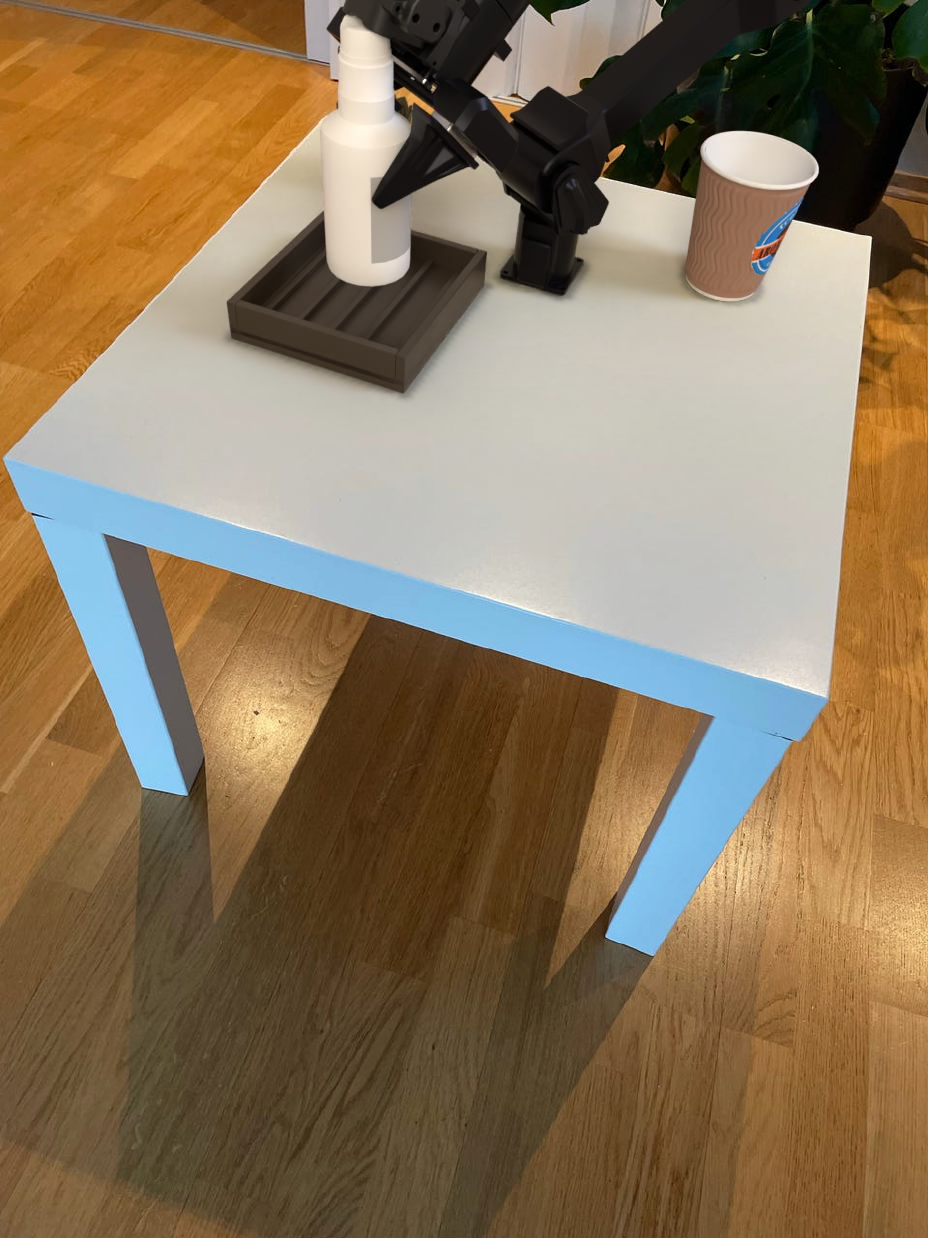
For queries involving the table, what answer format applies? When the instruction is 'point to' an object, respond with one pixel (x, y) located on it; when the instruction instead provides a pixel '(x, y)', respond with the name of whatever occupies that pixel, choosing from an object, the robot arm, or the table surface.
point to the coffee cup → (743, 210)
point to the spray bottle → (363, 164)
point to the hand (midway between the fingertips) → (351, 184)
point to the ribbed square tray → (357, 308)
